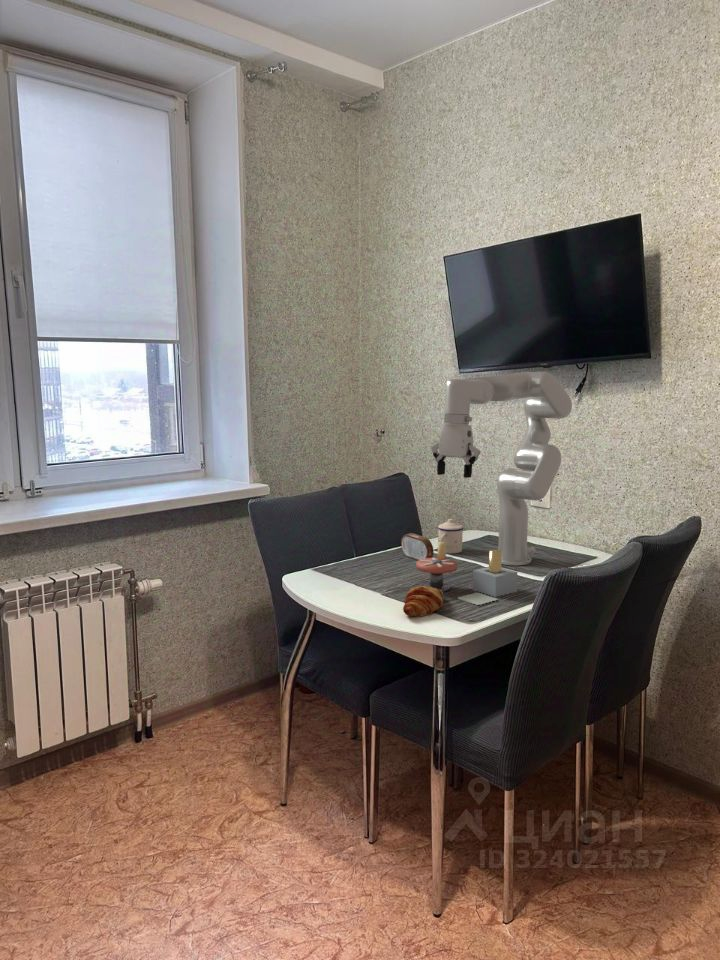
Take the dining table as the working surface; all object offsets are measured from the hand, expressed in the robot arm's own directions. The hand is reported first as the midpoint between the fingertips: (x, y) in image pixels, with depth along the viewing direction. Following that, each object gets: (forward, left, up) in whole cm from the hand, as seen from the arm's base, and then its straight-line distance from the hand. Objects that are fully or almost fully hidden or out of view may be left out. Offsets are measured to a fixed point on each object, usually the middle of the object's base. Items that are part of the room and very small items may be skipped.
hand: (454, 475), depth 218 cm
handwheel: (+12, +6, -26) cm, 29 cm away
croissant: (+27, +18, -33) cm, 46 cm away
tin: (-6, -24, -32) cm, 41 cm away
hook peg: (0, +18, -32) cm, 37 cm away
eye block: (0, +18, -32) cm, 37 cm away
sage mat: (+10, +21, -32) cm, 40 cm away
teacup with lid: (-22, -25, -32) cm, 46 cm away
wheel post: (+12, +6, -32) cm, 35 cm away
